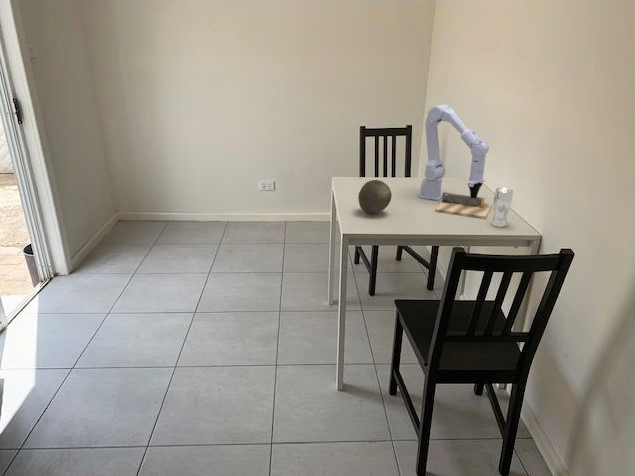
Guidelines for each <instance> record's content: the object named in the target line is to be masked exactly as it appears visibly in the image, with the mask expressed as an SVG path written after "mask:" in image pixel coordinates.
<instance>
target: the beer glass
mask: <svg viewBox="0 0 635 476" xmlns="http://www.w3.org/2000/svg"><path fill="white" fill-rule="evenodd" d="M513 196H514V190H513V189H511V188H507V187H498V188H496V189H495V193H494V197H493V198H494V199H493V218H492V220H491V225H492V226H494V227H498V228H504V227H507V226H508V215H509V212H510V210H511V207H512V204H513V198H514V197H513Z"/></svg>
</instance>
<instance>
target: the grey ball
mask: <svg viewBox="0 0 635 476" xmlns="http://www.w3.org/2000/svg"><path fill="white" fill-rule="evenodd" d="M392 195H393V193H392V191H391V188H390V186H389V185H388V184H386V182H384V181H382V180H379V179H373V180H369V181H367V182H365V183H364V184H363V185H362V186H361V188H360V190H359V192H358V197H357V198H358V205H359V207H360V209H361V210H362V211H363V212H365V213H366V214H368V215H376V214H379V213H382V212H383V211H384V210H385V209H386V208H387V207H388V206H389V205H390V203H391V201H392V197H393V196H392Z"/></svg>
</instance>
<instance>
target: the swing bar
mask: <svg viewBox="0 0 635 476" xmlns="http://www.w3.org/2000/svg"><path fill="white" fill-rule="evenodd" d="M442 200H443V201H451V202H458V203H465V204H472V205H480V206H483V205H484V203H485V197H481V196H477V197H473V196H470V195H466V194H465V195H463V194H457V193H451V192H450V193H449V192H443V193H442V197H441V201H442Z"/></svg>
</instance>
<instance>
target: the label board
mask: <svg viewBox="0 0 635 476" xmlns="http://www.w3.org/2000/svg"><path fill="white" fill-rule="evenodd" d="M492 206H493V204H492V203H486V202H484V205H483V206H480V205H472V204H465V203H458V202H451V201H443V200H442V199H441V201H440V202H439V204H438V205H437V206H436V207H435V209H434V212H436V213H443V214H449V215H456V216H463V217H469V218H474V219H482V220H486V219H487V218H488V215H489V213H490V210H491V208H492Z"/></svg>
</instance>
